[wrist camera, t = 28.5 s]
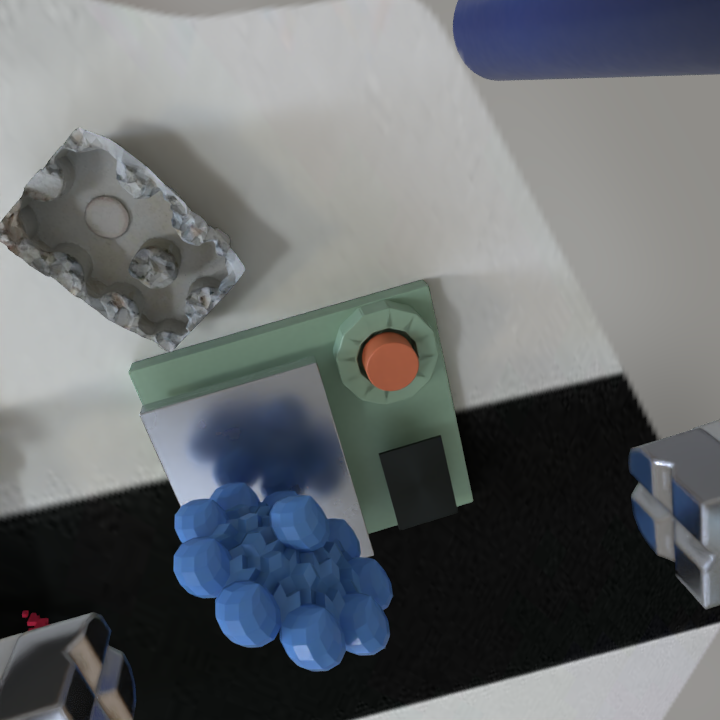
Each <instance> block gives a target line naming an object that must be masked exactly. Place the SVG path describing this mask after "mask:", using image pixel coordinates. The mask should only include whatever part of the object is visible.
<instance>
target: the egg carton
mask: <svg viewBox="0 0 720 720" xmlns="http://www.w3.org/2000/svg"><path fill="white" fill-rule="evenodd" d="M0 242H2V243H3V244H5V245H6V246H7V247H8V249H9V250H10V251H12V252H13V253H14V254H15V255H17V256H19V257H20V258H22V259H23V260H24V261H25V262H26V263H28V264H29V265H30V266H32V267H33V268H35V269H36V270H38V271H39V272H41V273H43V274H44V275H45V276H50V277H52V278H54V279H55V280H57V281H58V282H59V283H60V284H61V285H63V286H64V287H65V288H66V289H67V290H68V291H69V292H70V293H72V294H73V295H74V296H76V297H79V298H81V299H82V300H84V301H85V302H86V303H87V304H89V305H90V306H91V307H93V308H94V309H96V310H97V311H98V312H100V313H101V314H102V315H103V316H104V317H105V318H107V319H108V320H110V321H112V322H114V323H116V324H118V325H120V326H121V327H123V328H125V329H127V330H129V331H132V332H135V333H137V334H139V335H140V336H142V337H144V338H147V339H150V340H153V341H155V342H156V343H158V346H159V347H161V348H162V349H164V350H166V351H169V352H172V351H173V350H174V349H175V348H176V347H177V345H178V344H179V343H180V342H181V341H182V340H183V339H184V338H185V337H186V336H187V335H188V334H189V333H190V332H191V331H192V330H193V329H194V328H195V326H196V325H197V324H198V323H199V322H200V321H201V320H202V319H203V318H204V317H205V316H206V315H207V314H208V313H209V312H210V311H211V310H212V309H213V307H214V306H215V305H216V304H217V303H218V302H219V301H220V300H221V299H222V298H223V297H224V296H225V295H226V294H227V293H228V291H229V290H230V289H231V288H232V287H233V286H234V285H235V284H236V282H237V281H238V280H239V279H240V277H241V276H242V274H243V273H244V271H245V267H244V265H243V264H242V262H241V261H240V259H239V258H238V257H237V255H236V254H235V252H234V251H233V250H232V249H231V248H230V246H229V245H230V238H229V236H227V235H226V234H225V233H224V232H223V231H221V230H220V229H219V228H215V229H213V228H212V227H210V226H208V225H207V223H206V222H205V220H204V219H203V218H202V217H200V216H199V215H197V214H195V213H193V212H192V211H191V210H190V209H189V207H188V206H187V205H186V204H185V203H184V202H183V201H182V200H181V197H180V196H179V195H178V194H177V193H176V192H175V191H174V190H172V189H171V188H170V187H169V186H166V185H165V184H164V183H163V182H162V181H161V180H160V179H159V178H158V177H157V176H156V175H155V174H154V173H153V172H152V171H151V170H150V169H149V168H148V167H147V166H145V165H144V164H143V163H142V162H140V161H139V160H138V159H136V158H135V157H134V156H132V155H131V154H130V153H128V152H127V151H126V150H124V149H123V148H122V147H121V146H120V145H118V144H117V143H115V142H114V141H112V140H110V139H108V138H106V137H104V136H101V135H98V134H95V133H92V132H89V131H86V130H84V129H82V128H80V127H78V128H77V129H75V130H74V131H73V133H72V134H71V135H70V136H69V138H68V139H67V140H66V142H65V143H64V145H63V146H61V147H60V148H59V149H58V150H57V151H56V153H55V154H54V155H53V156H52V157H51V159H50V160H49V161H48V163H47V165H46V166H45V167H44V169H43V170H42V169H40V170H39V171H38V172H37V173H36V175H35V176H34V177H33V178H32V179H31V180H30V181H29V183H28V184H27V185H26V186H25V188H24V192H23V194H22V197H21V198H20V199H19V201H18V202H17V203H16V204H15V205H14V206H13V207H12V209H11V210H10V211H9V212H8V213H7V215H6V216H5V217H4V218H3V220H2V221H1V222H0Z"/></svg>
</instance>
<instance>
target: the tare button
mask: <svg viewBox="0 0 720 720" xmlns="http://www.w3.org/2000/svg"><path fill="white" fill-rule="evenodd" d="M362 363H363V366H364V369H365V371H366V374H367V376H368V378H369V380H370V381H371V383H372V384H373V385H374V386H376V387H377V388H379V389H381V390H385V391H396V390H400V389H402V388H404V387H406V386H408V385H409V384H410V383H411V382H412V381H413V380H414V378H415V377H416V375H417V372H418V368H419V360H418V357H417V354H416V353H415V351H414V349H413V348H412V346H411V345H410V343H409V342H408V340H407V339H406V338H405V337H404V336H402V335H400V334H398V333H394V332H384V333H380V334H378V335H376V336H374V337H373V338H371V339H370V340H369V341H368V342H367V344H366V345H365V347H364V349H363V352H362Z"/></svg>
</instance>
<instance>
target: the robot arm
mask: <svg viewBox="0 0 720 720" xmlns="http://www.w3.org/2000/svg"><path fill="white" fill-rule="evenodd" d="M628 459H629V472H630V473H631V474H632V475H633V476H634V477H635V478H636V479H637V480H638V481H639V483H638V484H637V486H636V488H635V490H634V491H633V493H632V495H631V498H632V507H633V514H634V517H635V519H636V522H637V525H638V527H639V530H640V532H641V534H642V535H643V537H644V538H645V540H646V542H647V543H648V544H649V546H650V547H651V548H652V549H653V550H654V551H655V553H656V554H657V555H659V556H661V557H664V558H667V559H669V560H672V561H675V567H676V577H677V578H678V579H679V580H680V581H681V582H682V583H683V584H684V585H685V587H686V588H687V589H688V590H689V591H690V592H691V593H692V594H693V596H694V597H695V598H696V599H697V600H698V601H699V602H700V603H701V604H702V606H703V607H704V608H705V609H708V608H712V607H715V606H718V605H720V420H716V421H713V422H710V423H707V424H704V425H701V426H698V427H695V428H693V430H689V431H686V432H683V433H679V434H676V435H673V436H670V437H667V438H663V439H660V440H657V441H654V442H650V443H647V444H644V445H641V446H638V447H634V448H631V450H630V454H629V457H628ZM110 634H111V630H110V628H109V626H108V625H107V623H106V621H105V620H104V618H103V617H102V615H101V614H97V613H90V614H86V615H82V616H79V617H75V618H72V619H68V620H65V621H61V622H58V623H54V624H50V625H47V626H43V627H40V628H36V629H33V630H29V631H26V632H25V633H20V634H17V635H13V636H10V637H6V638H3V639H0V720H133V717H134V711H135V704H136V695H135V680H134V677H133V673H132V670H131V667H130V664H129V662H128V660H127V658H126V657H125V655H124V653H123V652H121V651H119V650H117V649H115V648H113V647H110V646H108V642H109V638H110Z"/></svg>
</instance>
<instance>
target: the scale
mask: <svg viewBox="0 0 720 720" xmlns="http://www.w3.org/2000/svg"><path fill="white" fill-rule="evenodd" d="M384 332H394V333H398V334H400V335H402V336H404V337H405V338H406V339H407V340H408V342H409V343H410V345H411V346H412V348H413V349H414V351H415V353H416V354H417V357H418V360H419V368H418V372H417V375H416V377H415V378H414V380H413V381H412V382H411V383H410V384H409V385H408V386H406V387H404V388H402V389H400V390H396V391H385V390H381V389H379V388H377V387H376V386H374V385H373V384H372V383H371V381H370V380H369V378H368V376H367V374H366V371H365V369H364V366H363V363H362V352H363V349H364V347H365V345H366V344H367V342H368V341H369V340H370V339H371V338H373V337H374V336H376V335H378V334H380V333H384ZM310 356H315V357H316V361H317V364H318V367H319V371H320V374H321V377H322V381H323V384H324V387H325V391H326V394H327V397H328V401H329V404H330V407H331V411H332V414H333V417H334V421H335V424H336V427H337V431H338V434H339V437H340V441H341V444H342V447H343V451H344V454H345V457H346V461H347V464H348V467H349V471H350V474H351V477H352V481H353V484H354V487H355V491H356V494H357V497H358V501H359V504H360V507H361V511H362V514H363V517H364V521H365V524H366V527H367V531H368V534H369V533H372V532H376V531H379V530H382V529H385V528H389V527H392V526H395V525H398V523H397V519H396V516H395V512H394V508H393V505H392V501H391V498H390V494H389V490H388V487H387V483H386V479H385V476H384V472H383V468H382V465H381V461H380V457H379V453H382V452H385V451H388V450H392V449H395V448H398V447H401V446H405V445H408V444H411V443H415V442H418V441H421V440H425V439H428V438H431V437H435V436H438V435H441V438H442V442H443V447H444V451H445V456H446V460H447V465H448V469H449V474H450V478H451V483H452V487H453V492H454V496H455V501H456V505H457V506H460V505H464V504H467V503H470V502H473V497H472V492H471V488H470V483H469V478H468V473H467V468H466V463H465V459H464V454H463V449H462V444H461V439H460V435H459V430H458V425H457V420H456V415H455V410H454V406H453V401H452V396H451V391H450V386H449V381H448V377H447V372H446V367H445V362H444V357H443V353H442V348H441V343H440V338H439V333H438V328H437V324H436V319H435V314H434V309H433V304H432V299H431V295H430V290H429V286H428V285H427V284H426V283H425V282H424V281H423V280H420V281H416V282H413V283H409V284H406V285H402V286H399V287H395V288H392V289H388V290H385V291H381V292H378V293H374V294H371V295H368V296H364V297H361V298H357V299H354V300H350V301H347V302H343V303H340V304H336V305H333V306H329V307H326V308H322V309H319V310H315V311H312V312H308V313H305V314H301V315H298V316H295V317H291V318H288V319H284V320H281V321H277V322H274V323H270V324H267V325H263V326H260V327H256V328H253V329H249V330H246V331H242V332H239V333H235V334H232V335H228V336H225V337H221V338H218V339H215V340H211V341H208V342H204V343H201V344H197V345H194V346H190V347H187V348H183V349H180V350H176V351H173V352H169V353H166V354H162V355H159V356H155V357H152V358H148V359H145V360H142V361H138V362H135V363H132V365H131V368H130V370H129V375H130V377H131V380H132V382H133V384H134V386H135V389H136V391H137V393H138V395H139V398H140V400H141V402H142V405H145V404H149V403H152V402H156V401H159V400H162V399H166V398H169V397H173V396H176V395H180V394H183V393H186V392H190V391H193V390H197V389H200V388H204V387H207V386H211V385H214V384H217V383H221V382H224V381H228V380H231V379H235V378H238V377H241V376H245V375H248V374H252V373H255V372H259V371H262V370H266V369H269V368H272V367H276V366H279V365H283V364H286V363H290V362H293V361H296V360H300V359H303V358H307V357H310Z"/></svg>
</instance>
